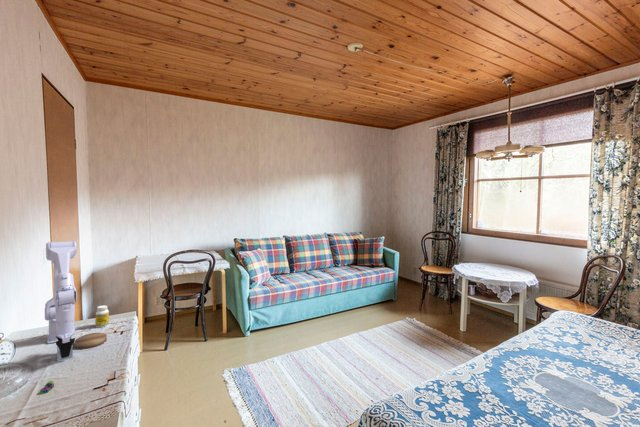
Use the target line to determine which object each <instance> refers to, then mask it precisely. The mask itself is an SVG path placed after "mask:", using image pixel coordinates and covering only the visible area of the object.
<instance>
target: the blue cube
mask: <svg viewBox="0 0 640 427" xmlns="http://www.w3.org/2000/svg"><path fill="white" fill-rule="evenodd" d="M73 347H74V345H72V347H71V350H70V354H69V357H66V358H61V354H60V350H59V348H58V346H57V345H56V360H57V362H61V361H64V360H70V359H73V355H74V354H73V352H74V351H73V349H74V348H73Z"/></svg>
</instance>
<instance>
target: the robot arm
mask: <svg viewBox="0 0 640 427" xmlns="http://www.w3.org/2000/svg"><path fill="white" fill-rule="evenodd" d="M77 245H78V244H77V242H76V241H75V240H71V241H48V242H46V243H45V258H46V260H47V261H51V262H52V263H53V297H52V298H51V299H49V300H47V301H46V303H45V305H44V320H46V321H48V334H47V336H46V339H47V340H46V342H47V344H54V343H55V345H56V347H57V346H58V348H59V350H60V354H61V358H66V357H69V354H70V350H71V347H72V346H74V344H75V340H76V337H75V338H74V337H72V335H73V334H74V333H75V332H76V328H75V325H76V324H75V323H76V321H75V320H76V318H75V317H76V303H77V300H78V293H77V289H76V286H75V281H74V279H75V278H74V274H73V273H70V261H71V259H74V258H75V256H76V254H77V250H78V249H77V248H78V246H77Z"/></svg>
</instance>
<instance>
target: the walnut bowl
mask: <svg viewBox="0 0 640 427" xmlns="http://www.w3.org/2000/svg"><path fill="white" fill-rule="evenodd" d="M104 342H105V343H106V342H107V333H104V332H93V333H88V334H85V335H81V336H78V338H75V341H74V348H75V349H79V350H87V349H88V350H89V349H93V348H96V347H99V346H101V345H104Z"/></svg>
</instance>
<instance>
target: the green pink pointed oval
mask: <svg viewBox="0 0 640 427" xmlns="http://www.w3.org/2000/svg"><path fill="white" fill-rule="evenodd" d="M54 387H55V383H54V381H53V380H50V381H48V382H47V383H46V384H45V385H44V387H42V388H41V389H40V391H39V392H38V393H37V394H36V396H40V395H44V394H46V393H47V394H48V393H49V392H50V391H51V390H52V389H53V388H54Z"/></svg>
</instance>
